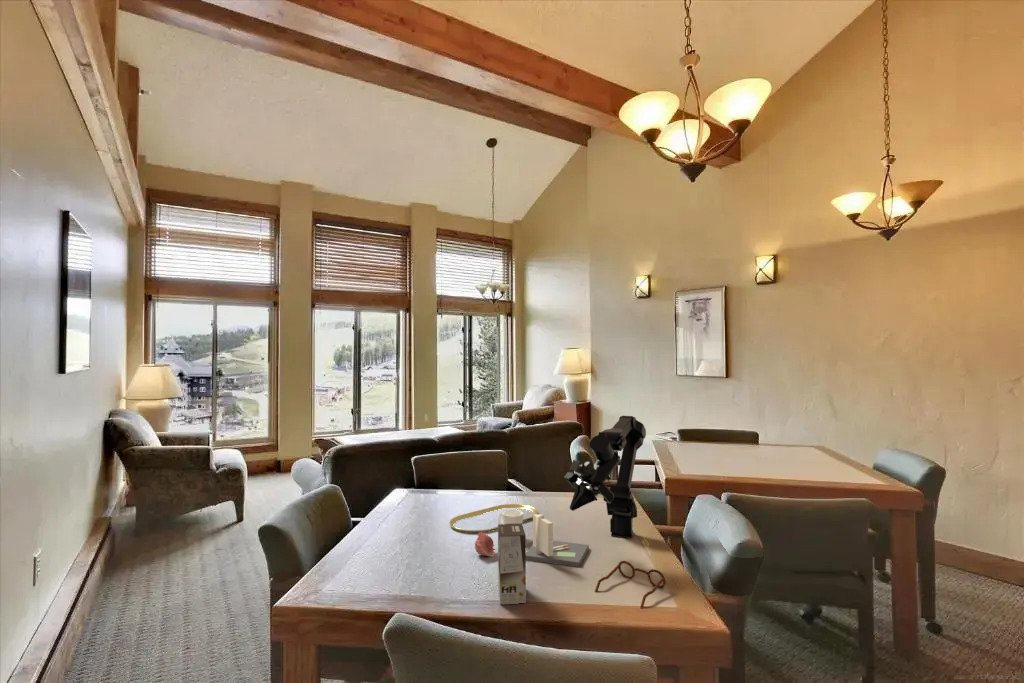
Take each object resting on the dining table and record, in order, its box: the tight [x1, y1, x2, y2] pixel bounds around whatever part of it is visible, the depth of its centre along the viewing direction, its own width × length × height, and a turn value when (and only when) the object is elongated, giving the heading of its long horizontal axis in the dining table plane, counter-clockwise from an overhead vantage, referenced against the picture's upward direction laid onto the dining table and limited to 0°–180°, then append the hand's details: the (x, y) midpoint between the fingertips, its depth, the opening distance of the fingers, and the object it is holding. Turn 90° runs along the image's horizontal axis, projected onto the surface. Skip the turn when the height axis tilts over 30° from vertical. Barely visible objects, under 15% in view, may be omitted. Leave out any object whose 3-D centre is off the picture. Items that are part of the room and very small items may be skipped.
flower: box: [474, 531, 496, 558], centre depth 152 cm, size 8×8×6 cm
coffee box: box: [497, 522, 527, 605], centre depth 126 cm, size 9×6×16 cm
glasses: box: [594, 560, 667, 609], centre depth 128 cm, size 13×13×5 cm
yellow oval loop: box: [449, 503, 538, 534], centre depth 184 cm, size 19×35×2 cm, turn 132°
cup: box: [498, 509, 525, 525], centre depth 167 cm, size 7×10×8 cm
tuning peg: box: [532, 513, 568, 556], centre depth 150 cm, size 9×10×10 cm
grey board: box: [526, 540, 590, 568], centre depth 152 cm, size 16×14×1 cm
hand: (571, 509), depth 150 cm, fingers closed
